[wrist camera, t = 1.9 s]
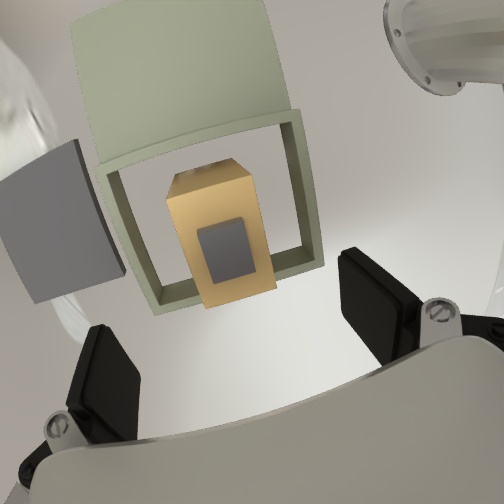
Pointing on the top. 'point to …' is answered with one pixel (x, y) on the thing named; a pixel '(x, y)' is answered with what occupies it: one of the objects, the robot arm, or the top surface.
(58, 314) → the top surface
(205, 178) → the block
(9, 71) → the top surface
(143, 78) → the equipment case
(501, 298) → the top surface
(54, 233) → the rubber mat
